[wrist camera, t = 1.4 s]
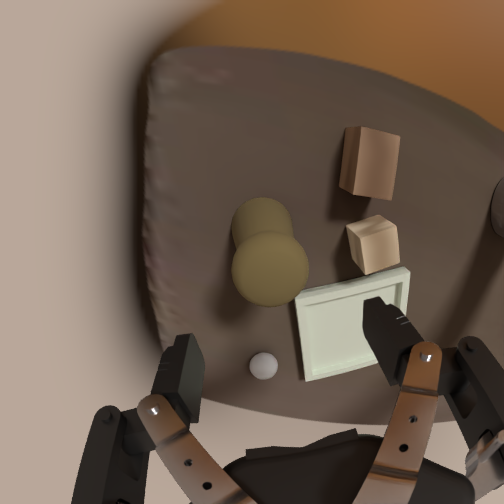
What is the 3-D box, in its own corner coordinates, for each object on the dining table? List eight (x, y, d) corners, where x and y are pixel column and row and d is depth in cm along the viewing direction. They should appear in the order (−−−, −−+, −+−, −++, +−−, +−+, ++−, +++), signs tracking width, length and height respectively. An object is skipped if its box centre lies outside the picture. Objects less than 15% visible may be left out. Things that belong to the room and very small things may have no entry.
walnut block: (380, 135, 23) (400, 136, 20) (373, 191, 26) (391, 200, 22) (345, 127, 23) (361, 126, 20) (338, 186, 26) (353, 194, 22)
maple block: (378, 214, 27) (396, 226, 23) (383, 247, 28) (399, 262, 25) (345, 225, 27) (360, 238, 23) (351, 258, 29) (365, 275, 25)
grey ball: (274, 344, 33) (276, 364, 30) (278, 363, 34) (280, 382, 31) (246, 349, 33) (247, 369, 30) (252, 367, 34) (253, 386, 31)
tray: (403, 266, 29) (410, 272, 28) (394, 348, 34) (398, 355, 33) (293, 292, 30) (295, 299, 28) (303, 373, 35) (305, 381, 34)
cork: (297, 246, 28) (326, 307, 18) (241, 262, 28) (239, 329, 18) (284, 190, 25) (311, 223, 15) (223, 206, 26) (209, 250, 16)
